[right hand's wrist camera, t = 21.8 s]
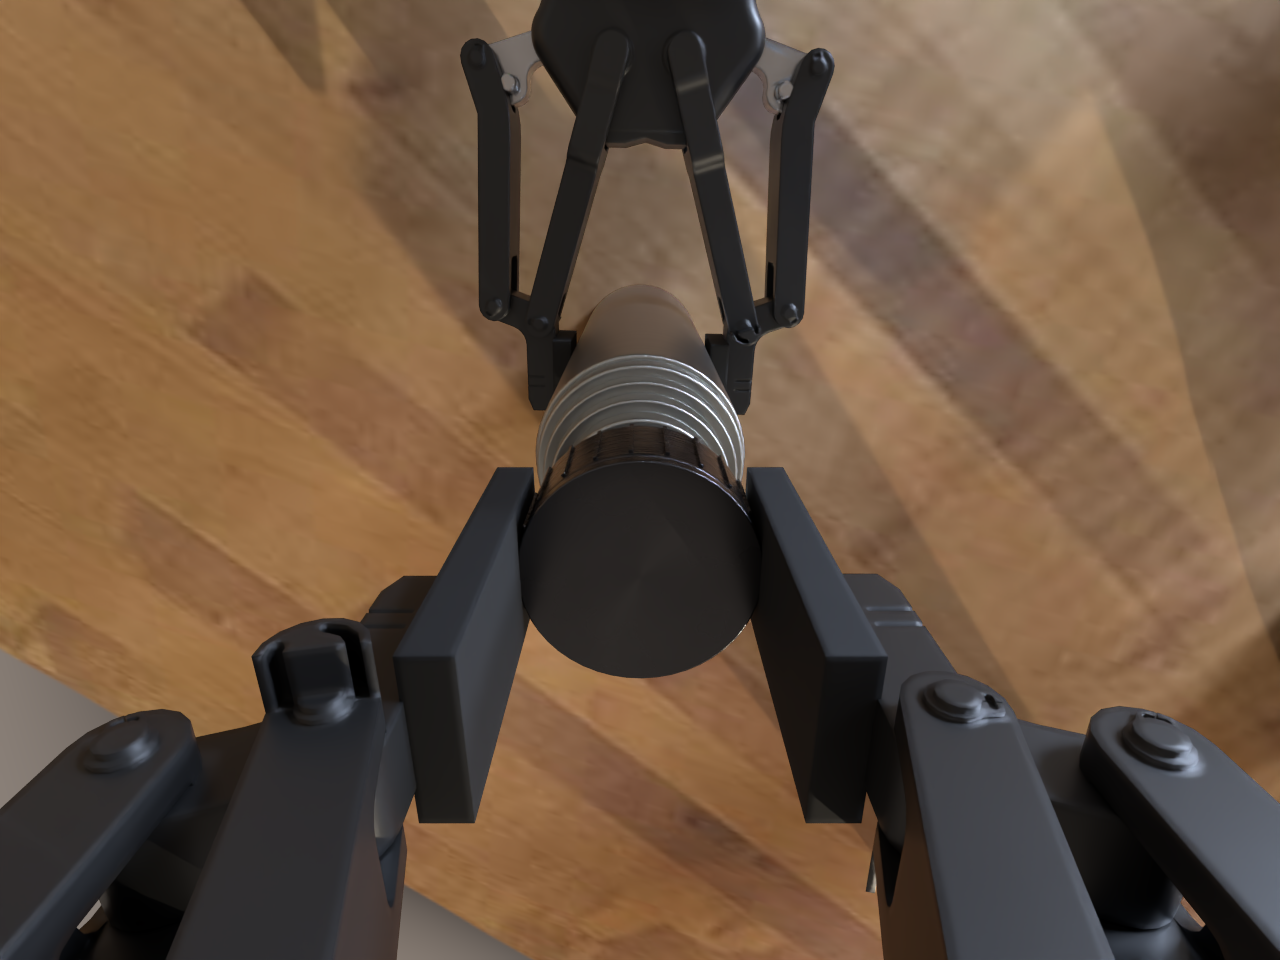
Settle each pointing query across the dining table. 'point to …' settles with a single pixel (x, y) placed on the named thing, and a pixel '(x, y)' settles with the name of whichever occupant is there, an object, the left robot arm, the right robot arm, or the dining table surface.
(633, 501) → the cap
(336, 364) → the dining table surface
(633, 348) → the bottle
